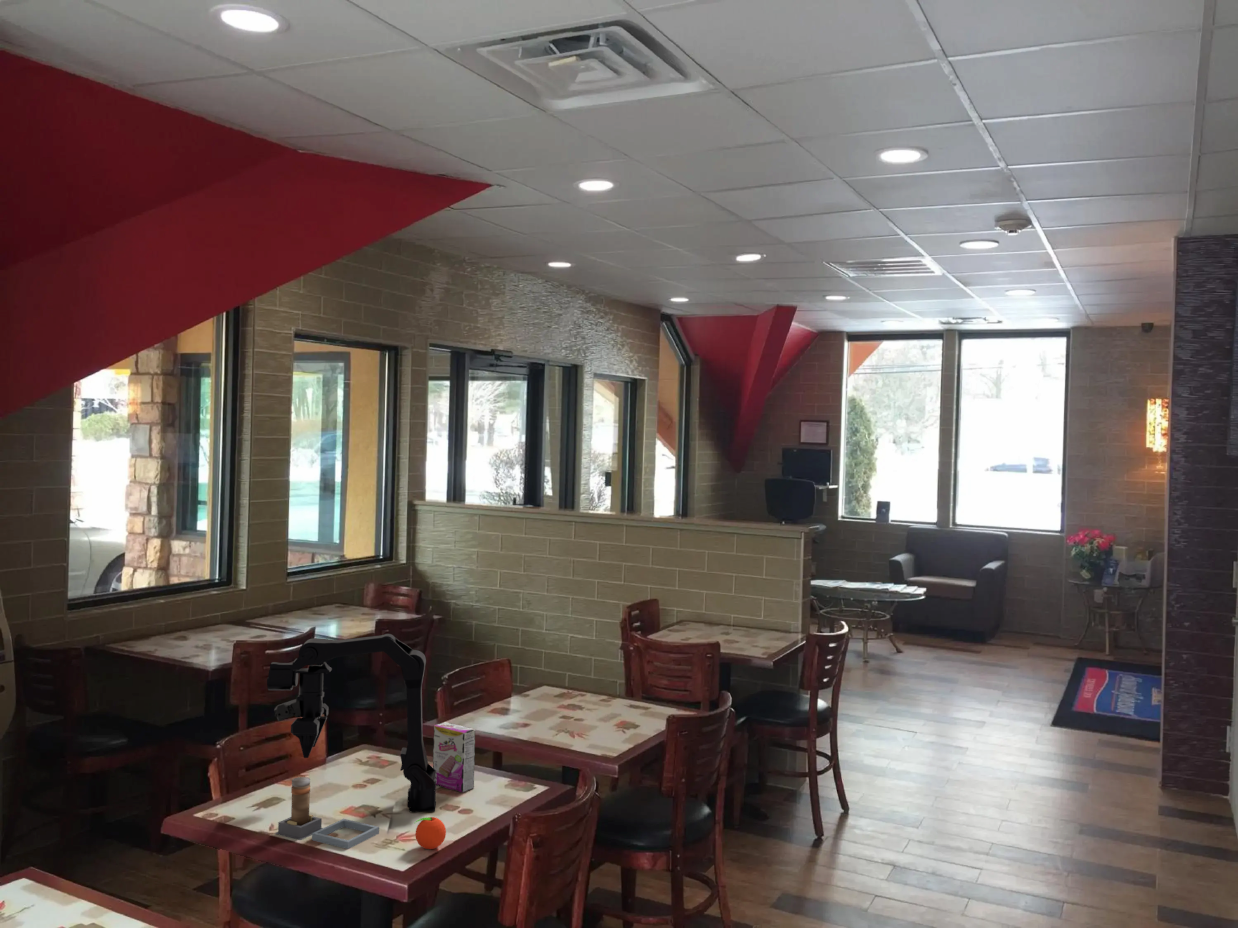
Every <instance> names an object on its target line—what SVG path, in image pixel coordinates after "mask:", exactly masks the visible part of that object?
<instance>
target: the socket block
mask: <svg viewBox="0 0 1238 928" xmlns="http://www.w3.org/2000/svg"><path fill="white" fill-rule="evenodd" d="M322 822H323V821H322V818H321V817H316V816H314V815H313V814H310V813H309V823H306V824H304V825H302V826H298V825H297V822H294V821H291V816H290V817H287V818H285V819H283V820H280V821H279V822H277V823H278V824H277V825H278V827H277V829H278V830H277V832H275V833H274V835H279V836H282V837H287V838H290V839H293V840H294V839H295V840H299V841H302V840H304V839H307V838H308V837H312V833H314V832H316V831H318V830H320V829H322V828H323V827H322Z"/></svg>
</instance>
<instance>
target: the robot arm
mask: <svg viewBox="0 0 1238 928" xmlns="http://www.w3.org/2000/svg"><path fill="white" fill-rule="evenodd" d="M382 652H383V653H384V654H386V655H387V656H388V657H390V659H391V660H393V662H394V663H395V664H397V666H399V667H400V668H401V673H402V679H403V682H404V685H405V686H404V687H405V689H406V724H407V725H406V727H407V736H406V737H407V745H406V746H407V747H402V748H401V751H400V760H401V767H400V771H402V773H403V774H402V775H403V777H404V778H405V779H406V780H407V781H409V782H410V786H409V787H408V790H407V808H408V812H409V813H434V812H436V807H437V801H436V800H437V797H436V796H437V795H436V793H437V791H436V790H437V785H436V781H434V779H435V773H436V770H435V769H434V768H433V765H430V763H429V761H428V756H427V750H426V747H425V744H424V740H423V739H424V737H423V694H422V693H423V690H422V689H423V681H424V675H425V671H426V663H427V658H426V656H425V654H424V653H423V652H422V651H421V650H418V649H417V650H416V649H412V648H411V647H410V646H408V644H406V643H404V642H403V641H401V640H399V639H398V638H397V637H395V635H393V634H391V633H385V634H382V635H373V636H365V637H363V636H362V637H356V638H347V639H341V640H337V639H329V638H319V637H318V638H317V637H315V638H310V639H307V640H306V641H305V642H304V643H303V644H302V645H301V646H300V648H299V650H298V657H296V658H295V659H294V660H293V661H292V662H276V661H272V662H271V663H270V664H269V670H268V677H267V678H266V687H267V690H268V691H292V690H293V688H294V687H297V686H298V683H299V686H298V695H297V696H295V697H296V698H295V699H292V700H289V701H286V702H283V703H281V704H278V705H276V706H275V707H274V710H273V711H274V717H275V718H276V719H277V722H282V721H283V720H285V719H287V718H291V717H295V718H296V719H295V720H293V722H292V723H291V724H290V734H291V735H293V736H295V737H296V738H298V741H299V743H300V748H301V751H302V755H303V758H304V759H308V758H309V756H310V754H311V752H312V750H313V748H314V747H316V745H317V742H318V740H319V737H320V736H321V733H322V730H323V729H324V726H325V724H326V721H327V719H328V716H329V710H330V709H329V706H328V705H327V704H326V703H325V702H324V703H323V701H324V699H323V698H324V697H325V691H324V674H330V673H331V671H332V670H333V668H332V667H330V665H329V664H327V662H328V661H330V660H333V659H336V658H340V657H341V658H342V657H349V656H356V655H357V656H359V655H365V654H375V653H382ZM318 664H319V665H318ZM320 664H321V665H320ZM307 666H308V668H306V667H307ZM304 667H305V668H304Z"/></svg>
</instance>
